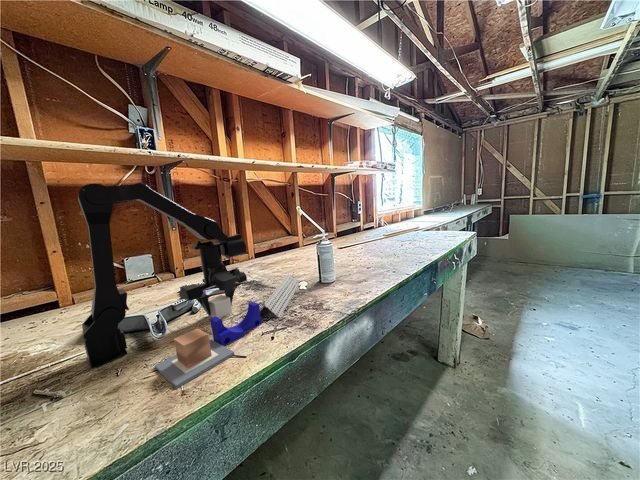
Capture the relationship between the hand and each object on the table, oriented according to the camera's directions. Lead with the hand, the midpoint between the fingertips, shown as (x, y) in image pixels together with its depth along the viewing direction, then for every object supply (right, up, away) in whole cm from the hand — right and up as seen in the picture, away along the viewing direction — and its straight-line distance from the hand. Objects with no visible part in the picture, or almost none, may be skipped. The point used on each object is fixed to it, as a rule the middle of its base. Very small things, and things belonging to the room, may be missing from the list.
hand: (219, 310), depth 77 cm
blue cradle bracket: (+10, -2, -13) cm, 17 cm away
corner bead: (+17, +1, +8) cm, 19 cm away
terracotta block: (+4, -4, -23) cm, 24 cm away
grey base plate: (+4, -4, -23) cm, 24 cm away
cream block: (0, -1, 0) cm, 1 cm away
